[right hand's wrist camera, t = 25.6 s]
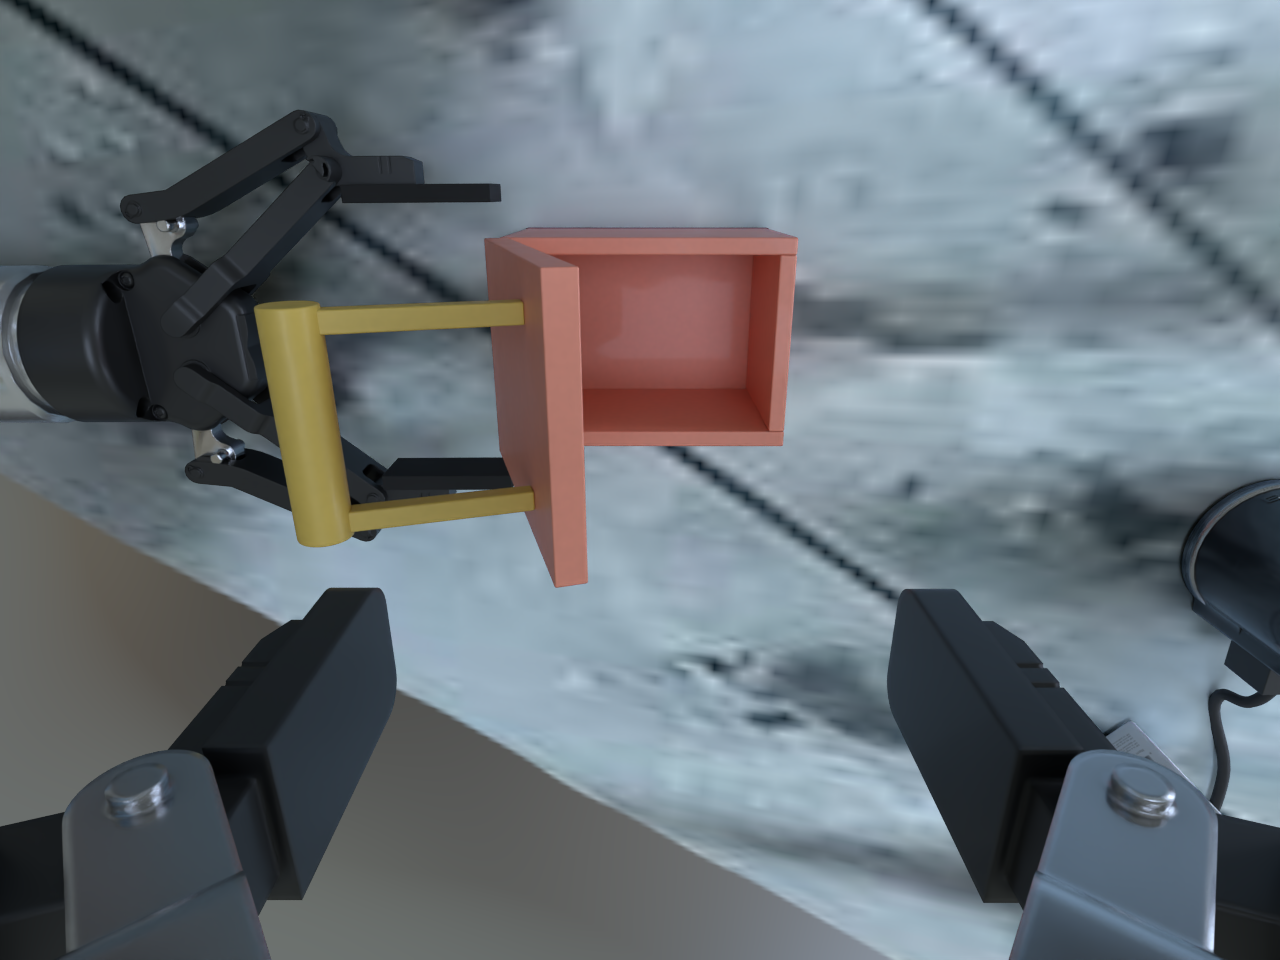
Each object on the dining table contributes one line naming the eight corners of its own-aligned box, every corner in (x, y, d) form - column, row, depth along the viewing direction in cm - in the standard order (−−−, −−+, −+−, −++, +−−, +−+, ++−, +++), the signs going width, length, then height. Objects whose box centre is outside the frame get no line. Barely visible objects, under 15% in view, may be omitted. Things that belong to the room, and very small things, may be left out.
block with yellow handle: (579, 266, 19) (218, 276, 17) (588, 583, 23) (289, 628, 20) (509, 237, 31) (291, 241, 29) (521, 449, 35) (328, 467, 32)
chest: (765, 227, 40) (798, 237, 32) (755, 397, 43) (783, 446, 35) (528, 227, 40) (498, 236, 32) (537, 397, 43) (512, 446, 35)
